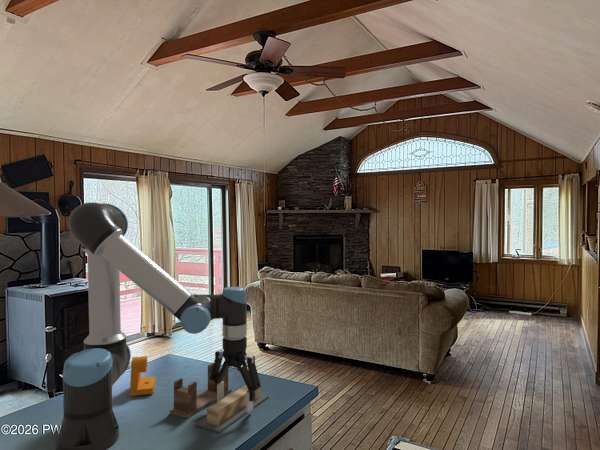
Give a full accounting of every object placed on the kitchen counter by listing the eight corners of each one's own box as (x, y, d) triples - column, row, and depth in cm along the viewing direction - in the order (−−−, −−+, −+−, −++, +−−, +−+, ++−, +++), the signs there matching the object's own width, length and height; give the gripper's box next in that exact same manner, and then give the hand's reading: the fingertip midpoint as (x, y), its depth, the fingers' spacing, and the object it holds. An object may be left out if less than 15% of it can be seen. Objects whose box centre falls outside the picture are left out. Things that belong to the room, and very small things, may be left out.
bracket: (186, 418, 123) (186, 387, 123) (169, 413, 126) (169, 382, 126) (231, 391, 142) (231, 364, 142) (215, 387, 145) (215, 361, 145)
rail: (217, 425, 117) (217, 411, 117) (206, 422, 119) (206, 408, 119) (259, 396, 137) (259, 384, 137) (249, 394, 139) (249, 382, 139)
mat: (219, 433, 114) (219, 430, 114) (195, 425, 119) (195, 423, 119) (268, 397, 138) (268, 395, 138) (246, 392, 142) (246, 390, 142)
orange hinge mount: (152, 396, 139) (152, 361, 138) (130, 398, 137) (130, 362, 137) (155, 383, 149) (155, 351, 149) (134, 385, 147) (134, 352, 147)
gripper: (272, 338, 126) (272, 409, 126) (213, 329, 136) (213, 394, 137) (258, 345, 119) (258, 420, 119) (198, 335, 130) (198, 403, 130)
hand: (234, 406), depth 128 cm, fingers open, 10 cm apart
